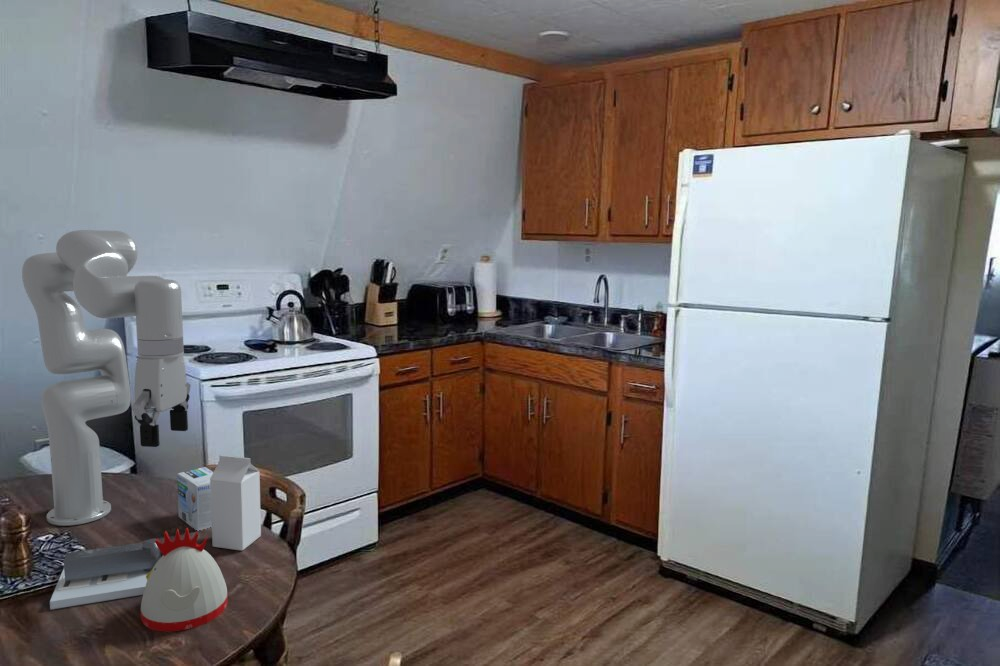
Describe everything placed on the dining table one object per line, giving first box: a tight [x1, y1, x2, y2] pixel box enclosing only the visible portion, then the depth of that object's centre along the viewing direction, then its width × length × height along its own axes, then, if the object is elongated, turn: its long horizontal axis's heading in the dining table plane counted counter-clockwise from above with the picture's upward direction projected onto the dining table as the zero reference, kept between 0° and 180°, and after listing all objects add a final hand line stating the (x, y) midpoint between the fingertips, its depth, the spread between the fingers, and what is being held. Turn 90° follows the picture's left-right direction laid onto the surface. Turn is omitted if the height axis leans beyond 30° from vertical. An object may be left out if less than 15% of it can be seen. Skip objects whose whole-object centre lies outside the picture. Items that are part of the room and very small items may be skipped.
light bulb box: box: [176, 466, 214, 532], centre depth 154 cm, size 11×7×11 cm, turn 47°
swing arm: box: [63, 538, 162, 581], centre depth 127 cm, size 3×16×5 cm, turn 113°
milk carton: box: [210, 454, 262, 551], centre depth 143 cm, size 7×7×19 cm
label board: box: [49, 568, 149, 610], centre depth 128 cm, size 17×15×2 cm
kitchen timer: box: [140, 527, 228, 633], centre depth 118 cm, size 14×14×15 cm
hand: (165, 438), depth 126 cm, fingers open, 9 cm apart
